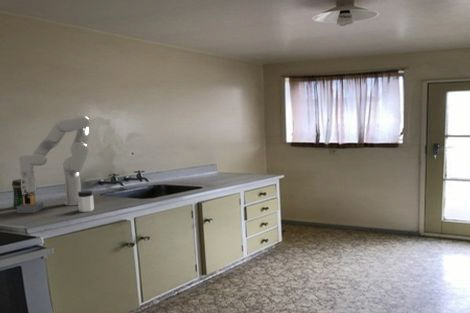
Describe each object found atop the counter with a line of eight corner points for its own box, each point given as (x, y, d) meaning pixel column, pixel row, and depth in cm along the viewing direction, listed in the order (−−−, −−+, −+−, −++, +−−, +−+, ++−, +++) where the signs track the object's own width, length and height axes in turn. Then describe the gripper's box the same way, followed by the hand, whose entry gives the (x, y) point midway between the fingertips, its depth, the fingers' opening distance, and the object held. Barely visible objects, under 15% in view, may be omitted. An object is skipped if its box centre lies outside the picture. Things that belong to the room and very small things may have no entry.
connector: (36, 205, 251) (35, 192, 250) (32, 206, 246) (31, 194, 245) (27, 205, 251) (26, 192, 250) (23, 206, 246) (22, 194, 245)
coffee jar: (19, 209, 254) (17, 180, 252) (11, 208, 257) (9, 180, 255) (33, 205, 262) (30, 178, 260) (24, 204, 266) (22, 177, 264)
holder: (43, 208, 254) (42, 202, 254) (34, 212, 243) (34, 206, 243) (26, 208, 254) (25, 202, 254) (16, 212, 243) (16, 206, 243)
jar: (83, 208, 250) (82, 190, 249) (95, 208, 250) (94, 190, 248) (76, 212, 241) (75, 193, 240) (89, 212, 241) (88, 192, 239)
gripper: (26, 176, 238) (28, 205, 240) (39, 172, 255) (42, 199, 257) (13, 176, 238) (16, 206, 240) (28, 172, 255) (30, 200, 257)
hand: (29, 202), depth 248 cm, fingers closed on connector, 4 cm apart
